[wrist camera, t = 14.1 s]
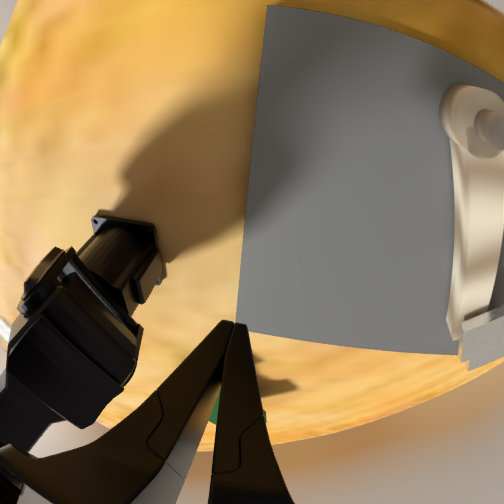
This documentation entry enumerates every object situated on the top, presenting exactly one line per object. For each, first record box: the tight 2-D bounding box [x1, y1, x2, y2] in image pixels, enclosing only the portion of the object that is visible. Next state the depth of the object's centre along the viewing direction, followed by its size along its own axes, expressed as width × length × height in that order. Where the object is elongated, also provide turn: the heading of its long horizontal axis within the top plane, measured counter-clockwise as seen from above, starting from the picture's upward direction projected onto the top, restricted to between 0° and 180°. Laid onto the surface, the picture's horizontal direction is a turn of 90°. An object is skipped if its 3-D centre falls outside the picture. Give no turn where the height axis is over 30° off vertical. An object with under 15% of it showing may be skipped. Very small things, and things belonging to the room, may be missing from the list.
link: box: [439, 84, 504, 341], centre depth 15 cm, size 20×4×4 cm, turn 22°
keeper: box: [458, 305, 504, 371], centre depth 19 cm, size 8×7×5 cm
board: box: [236, 5, 504, 355], centre depth 18 cm, size 28×26×1 cm
